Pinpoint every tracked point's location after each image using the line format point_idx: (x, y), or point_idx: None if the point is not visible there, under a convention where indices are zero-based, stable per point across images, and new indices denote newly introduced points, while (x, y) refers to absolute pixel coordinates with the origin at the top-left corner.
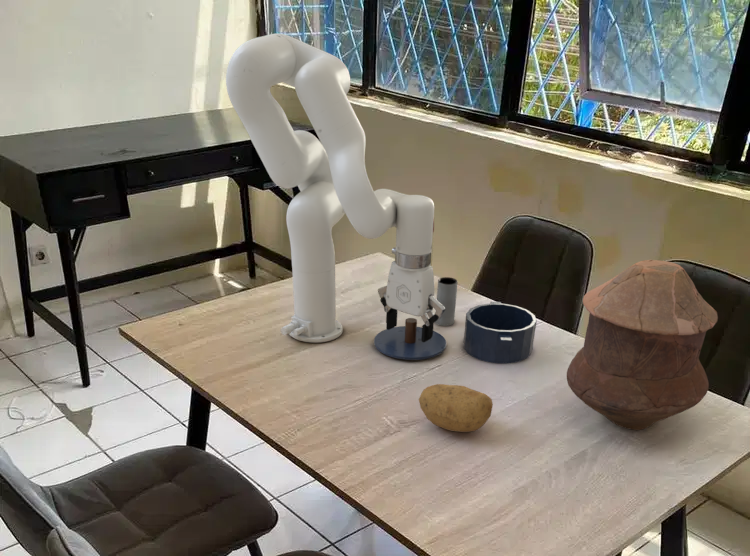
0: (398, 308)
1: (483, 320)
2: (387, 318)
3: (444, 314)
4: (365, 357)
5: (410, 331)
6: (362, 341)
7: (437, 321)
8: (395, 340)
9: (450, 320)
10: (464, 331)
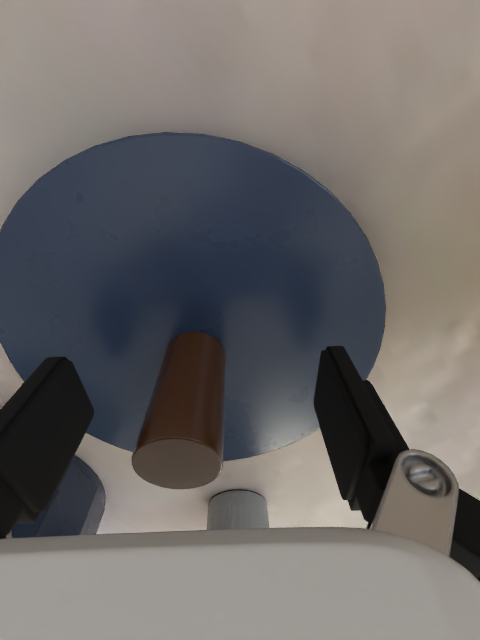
0: (216, 575)
1: None
2: (365, 402)
3: None
4: (307, 5)
5: (160, 386)
6: (437, 221)
7: (245, 500)
8: (257, 315)
9: (208, 520)
10: (46, 508)
